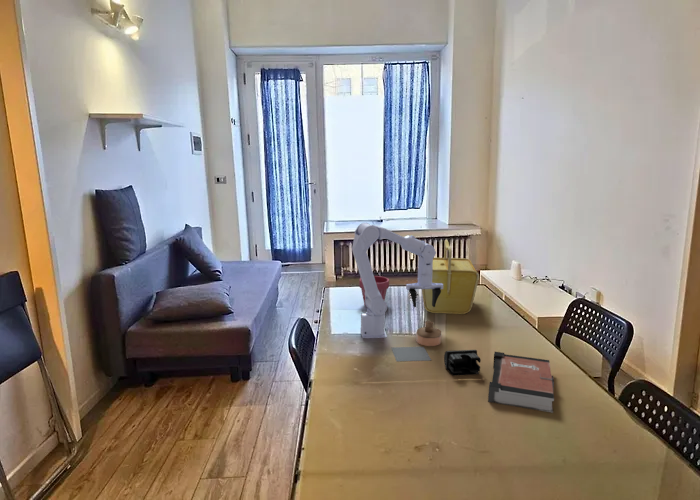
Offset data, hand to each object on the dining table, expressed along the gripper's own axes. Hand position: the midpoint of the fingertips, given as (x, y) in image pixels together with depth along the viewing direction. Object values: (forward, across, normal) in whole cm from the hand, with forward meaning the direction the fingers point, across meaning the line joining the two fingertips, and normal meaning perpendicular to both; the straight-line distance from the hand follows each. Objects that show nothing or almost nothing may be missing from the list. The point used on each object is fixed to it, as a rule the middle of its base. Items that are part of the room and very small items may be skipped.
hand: (424, 306), depth 183 cm
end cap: (+10, +4, -38) cm, 40 cm away
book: (+11, +19, -49) cm, 54 cm away
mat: (+10, -10, -24) cm, 28 cm away
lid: (+6, -1, -13) cm, 15 cm away
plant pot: (+10, -16, +35) cm, 40 cm away
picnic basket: (+10, +18, +32) cm, 38 cm away
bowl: (+10, -1, -13) cm, 16 cm away
